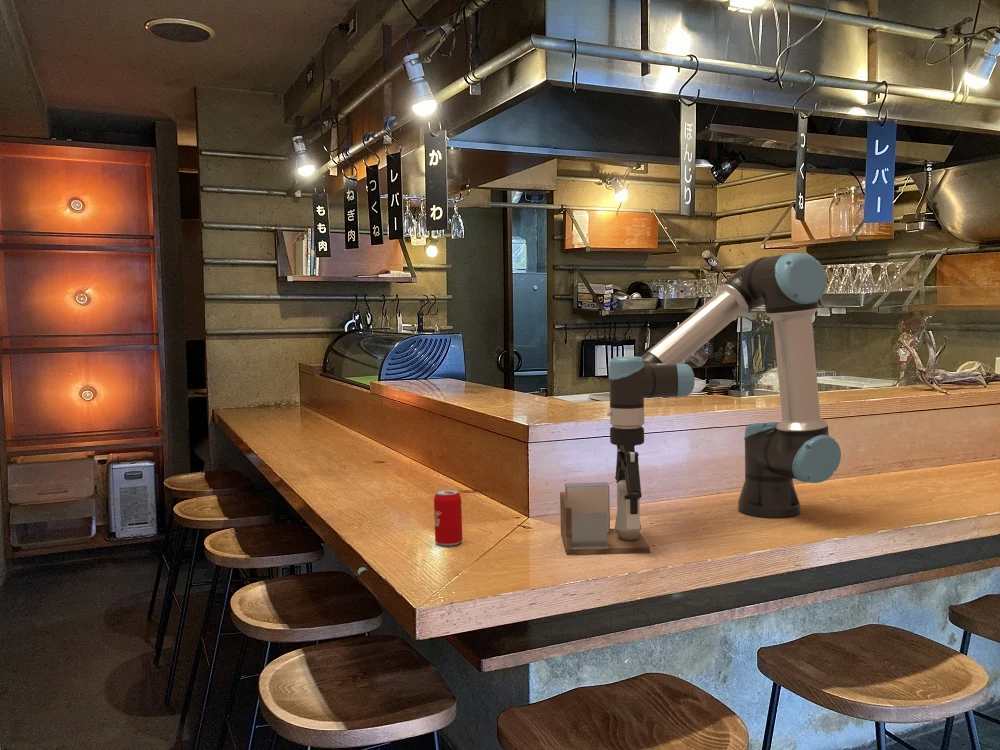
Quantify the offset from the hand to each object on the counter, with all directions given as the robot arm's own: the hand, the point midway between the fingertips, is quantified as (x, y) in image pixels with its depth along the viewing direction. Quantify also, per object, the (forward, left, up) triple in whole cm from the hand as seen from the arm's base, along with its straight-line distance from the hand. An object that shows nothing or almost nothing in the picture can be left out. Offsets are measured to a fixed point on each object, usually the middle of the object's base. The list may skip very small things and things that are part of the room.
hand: (628, 520), depth 177 cm
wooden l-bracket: (+6, 0, -5) cm, 8 cm away
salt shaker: (0, 0, -4) cm, 4 cm away
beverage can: (+40, -4, -5) cm, 41 cm away
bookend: (+9, +6, -4) cm, 12 cm away
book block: (+8, -6, -4) cm, 11 cm away
